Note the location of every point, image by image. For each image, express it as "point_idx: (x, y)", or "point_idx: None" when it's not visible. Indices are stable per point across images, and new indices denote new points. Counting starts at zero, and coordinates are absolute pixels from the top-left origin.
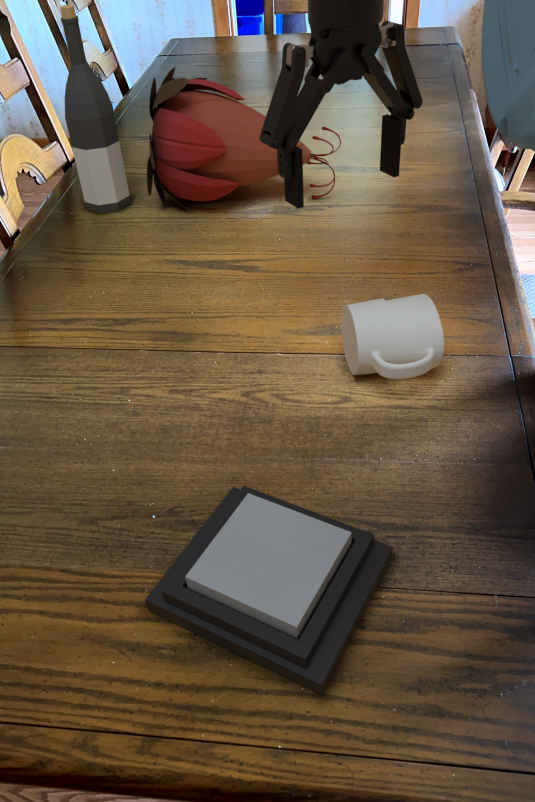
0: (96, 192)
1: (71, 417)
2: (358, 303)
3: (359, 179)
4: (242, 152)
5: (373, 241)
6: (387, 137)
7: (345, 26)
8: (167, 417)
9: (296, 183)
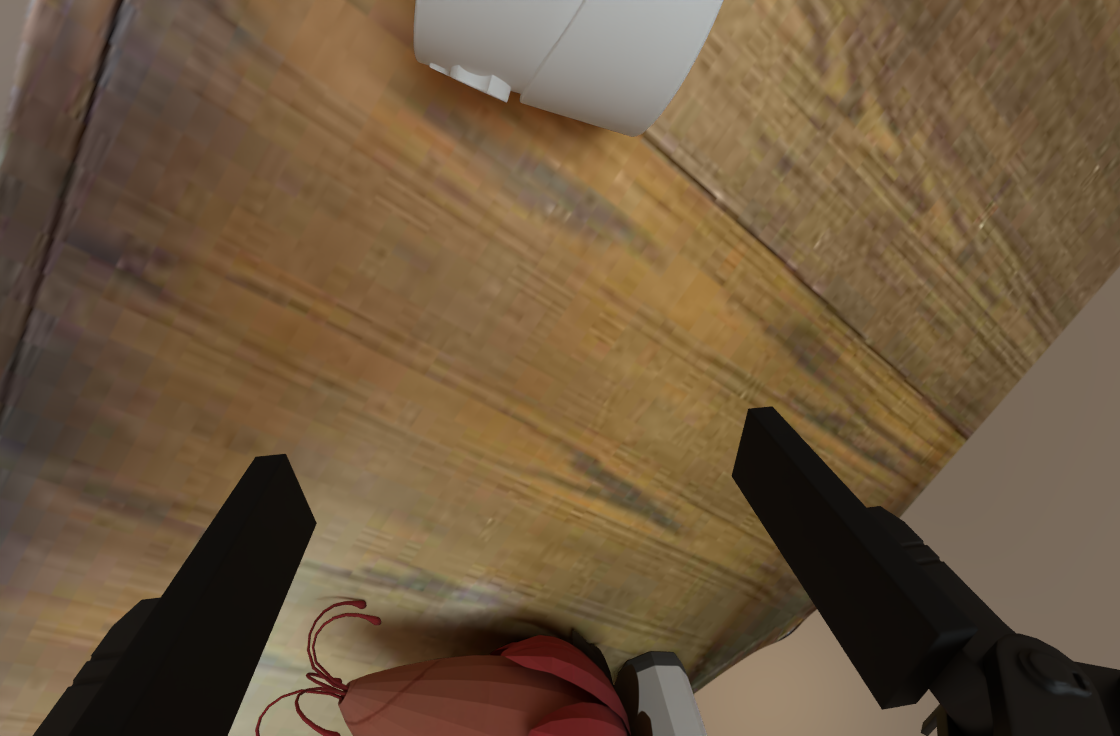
0: (685, 687)
1: (1059, 236)
2: (655, 56)
3: None
4: (493, 723)
5: (321, 449)
6: (226, 659)
7: None
8: (987, 138)
9: (836, 480)
